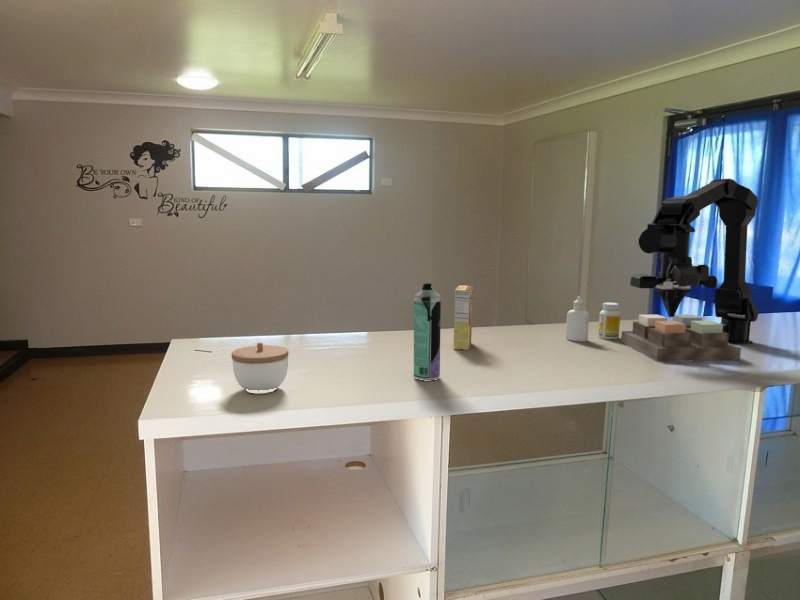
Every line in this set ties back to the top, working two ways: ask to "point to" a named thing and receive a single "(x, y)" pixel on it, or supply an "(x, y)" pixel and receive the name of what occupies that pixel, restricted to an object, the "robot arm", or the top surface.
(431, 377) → the spray can
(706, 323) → the cap sage
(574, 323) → the eye dropper bottle
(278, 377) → the lidded jar
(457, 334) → the candy box
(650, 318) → the cap cream
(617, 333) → the supplement bottle
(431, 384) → the top surface
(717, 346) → the stepped wooden stand
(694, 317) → the cap slate
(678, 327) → the cap terracotta
